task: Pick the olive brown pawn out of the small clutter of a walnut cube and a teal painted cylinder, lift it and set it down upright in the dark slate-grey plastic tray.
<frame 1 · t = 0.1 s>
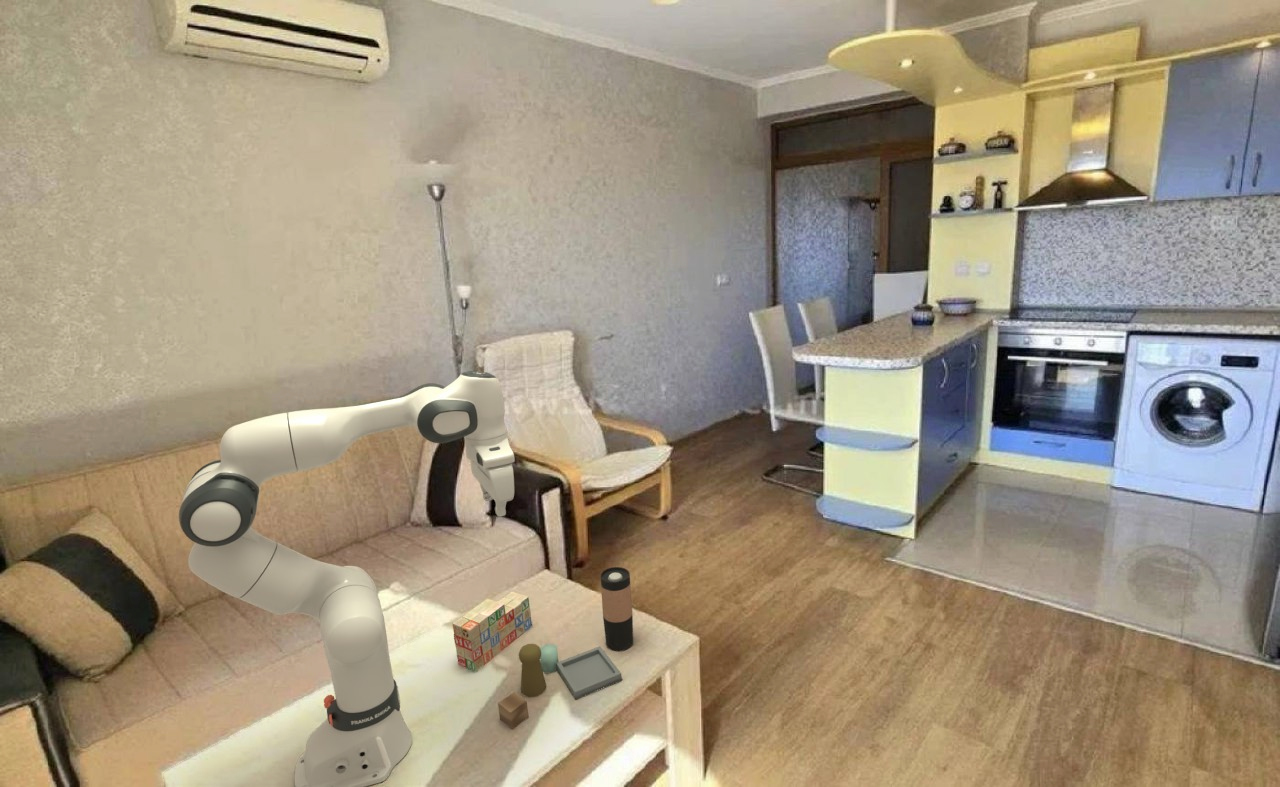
hand: (494, 507, 134), 48 cm above the table, fingers open, 8 cm apart
olive brown pawn: (533, 688, 148), on the table
tray: (588, 675, 151), on the table
teal cylinder: (550, 666, 155), on the table
stack of blocks: (496, 645, 164), on the table
travel mug: (619, 643, 162), on the table
walnut cube: (514, 718, 138), on the table
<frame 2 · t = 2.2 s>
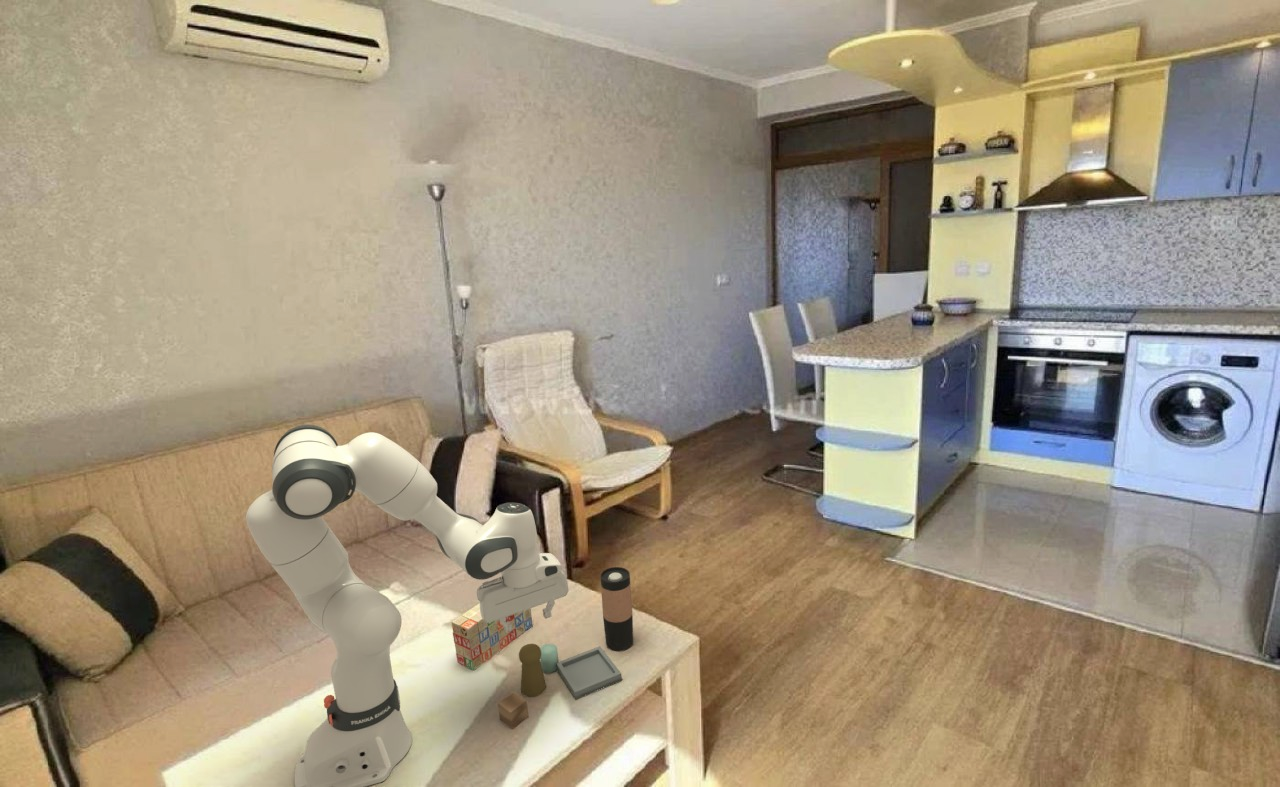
hand: (528, 623, 144), 17 cm above the table, fingers open, 8 cm apart
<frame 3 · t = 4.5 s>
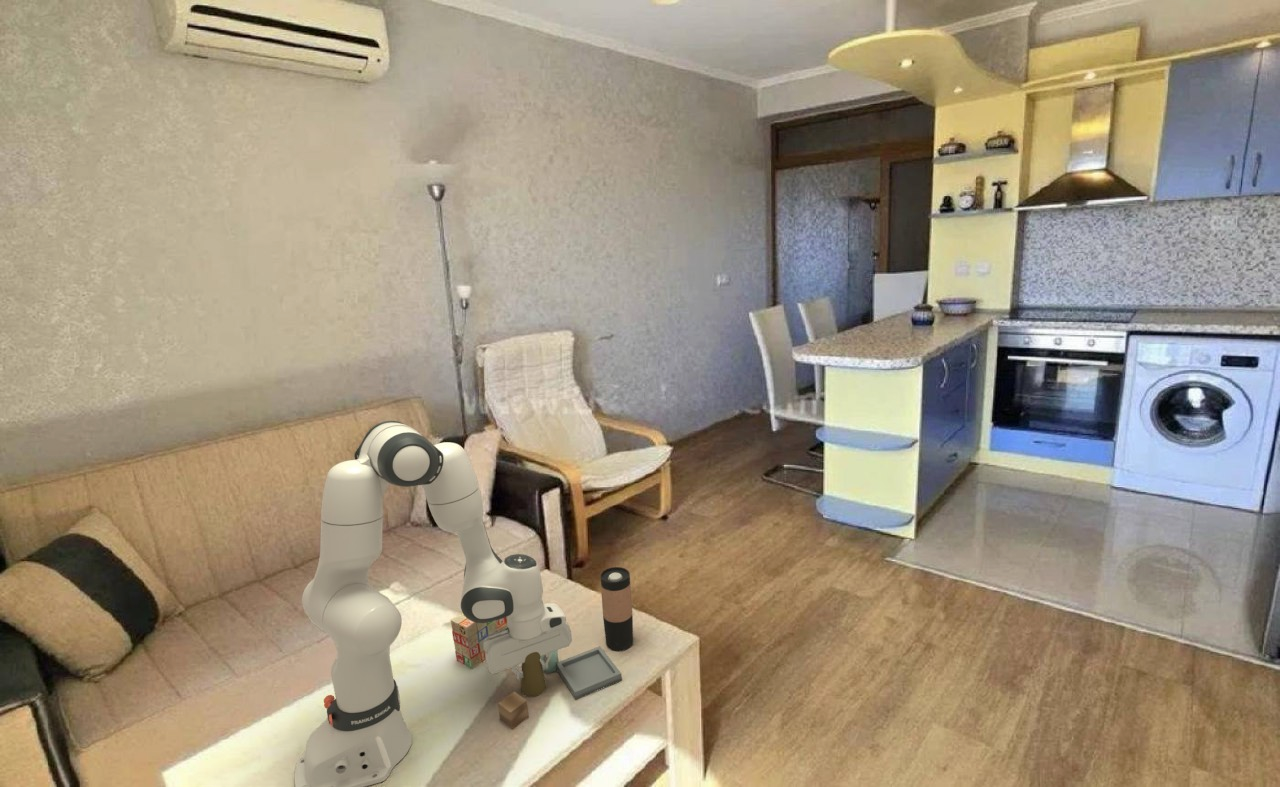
hand: (532, 673, 147), 4 cm above the table, fingers closed on olive brown pawn, 5 cm apart
olive brown pawn: (533, 688, 148), on the table, touching gripper
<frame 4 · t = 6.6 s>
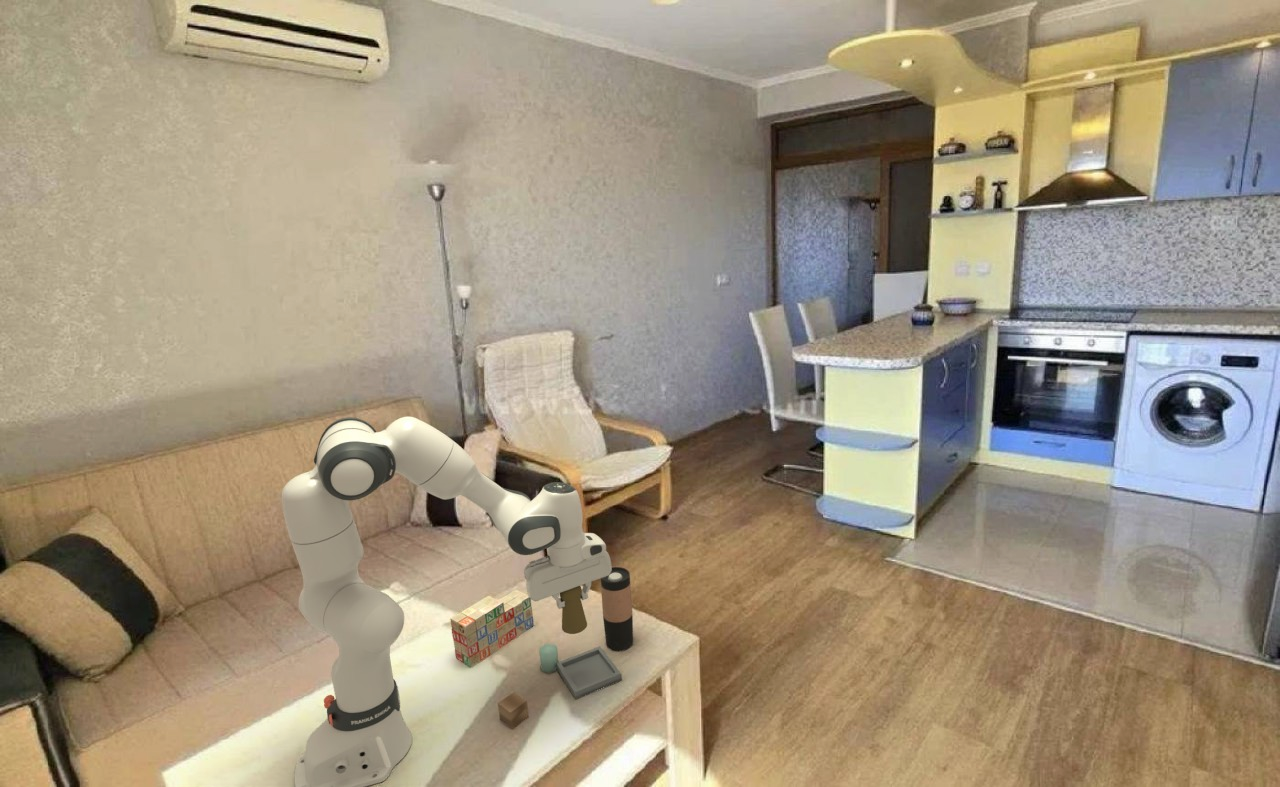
hand: (572, 602, 145), 21 cm above the table, fingers closed on olive brown pawn, 4 cm apart
olive brown pawn: (574, 626, 147), point 14 cm above the table, touching gripper
when the fingers open (7 cm above the table, at t = 9.1 s): olive brown pawn stays where it is, resting on tray.
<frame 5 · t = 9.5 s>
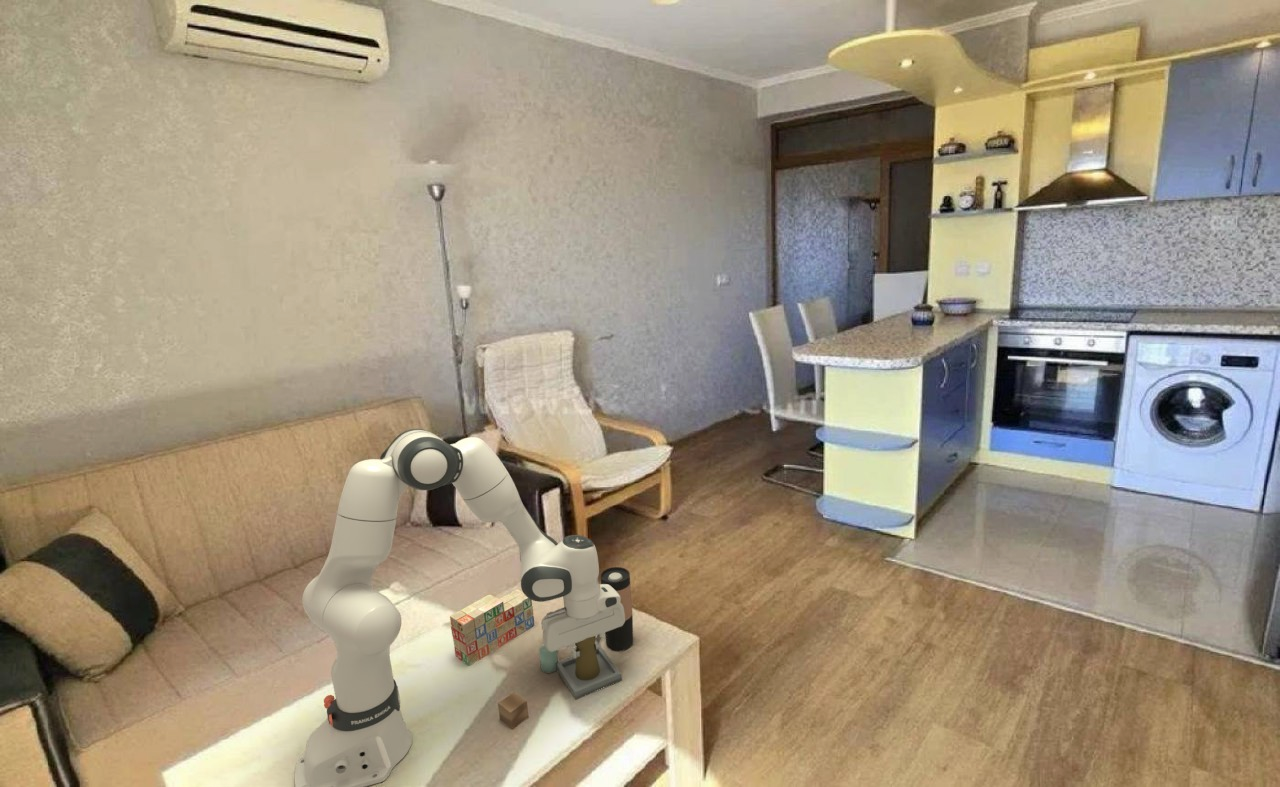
hand: (586, 652, 149), 6 cm above the table, fingers open, 4 cm apart
olive brown pawn: (587, 672, 151), point 1 cm above the table, touching tray
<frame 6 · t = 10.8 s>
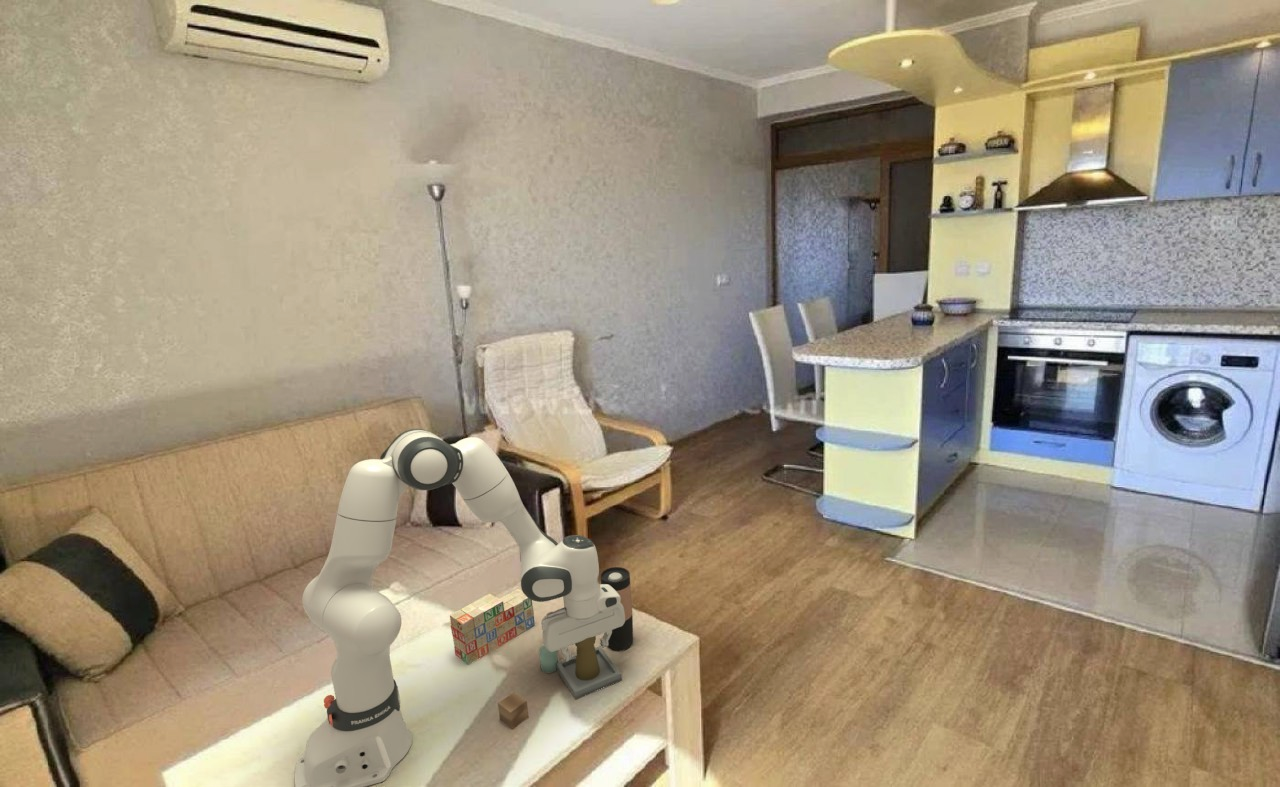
hand: (586, 652, 149), 6 cm above the table, fingers open, 8 cm apart
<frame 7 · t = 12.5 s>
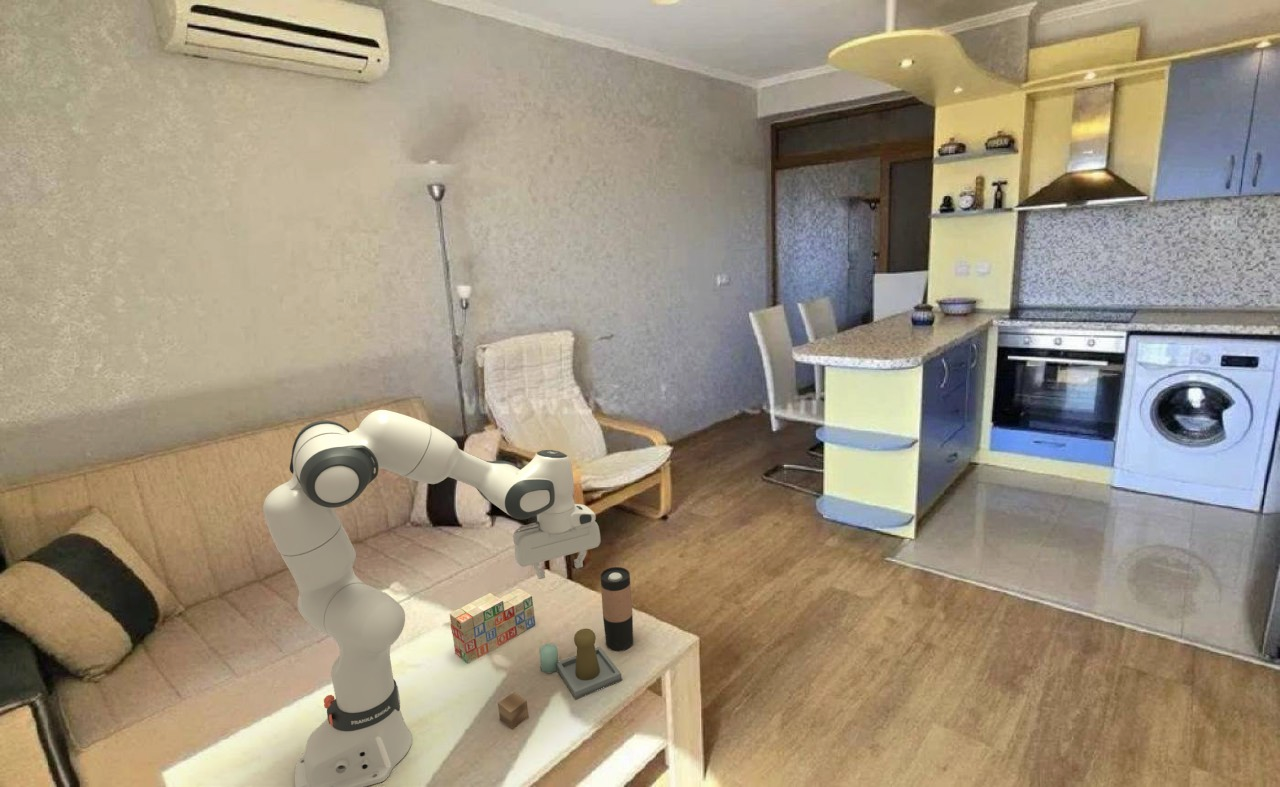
hand: (560, 572, 146), 27 cm above the table, fingers open, 8 cm apart
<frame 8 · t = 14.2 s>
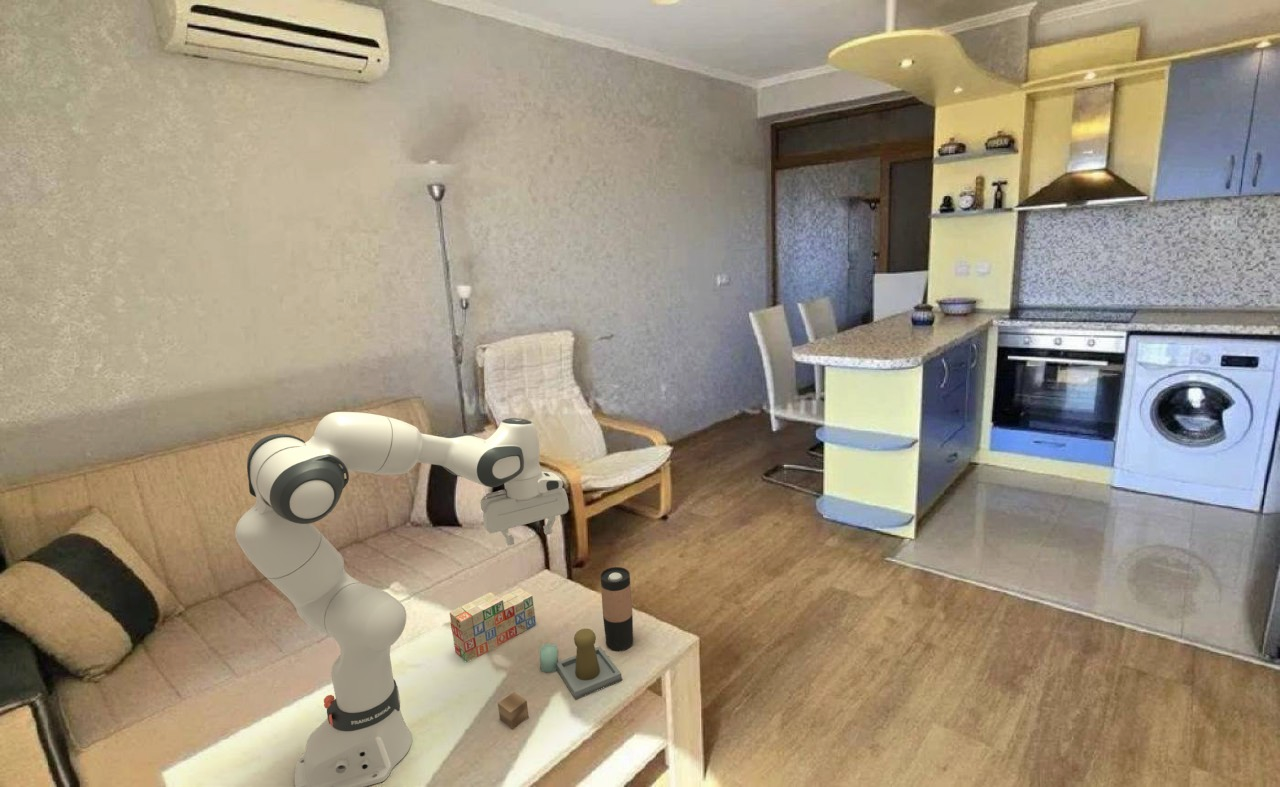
hand: (529, 538, 148), 34 cm above the table, fingers open, 8 cm apart
at the end: olive brown pawn inside the target area on the tray (0.2 cm from its centre), point 0.6 cm above the tray's base; olive brown pawn tilted 0°; the gripper is holding nothing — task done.
